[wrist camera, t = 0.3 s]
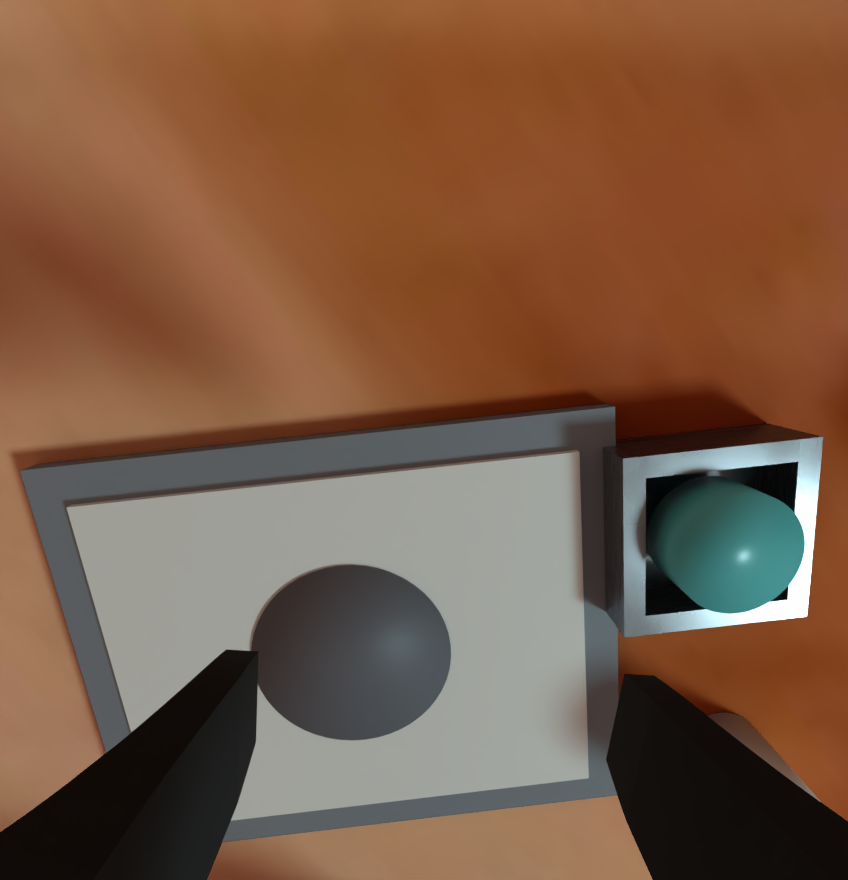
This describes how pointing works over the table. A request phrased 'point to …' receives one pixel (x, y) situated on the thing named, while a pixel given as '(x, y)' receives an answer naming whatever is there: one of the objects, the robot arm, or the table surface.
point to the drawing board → (358, 608)
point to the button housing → (667, 466)
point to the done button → (725, 543)
